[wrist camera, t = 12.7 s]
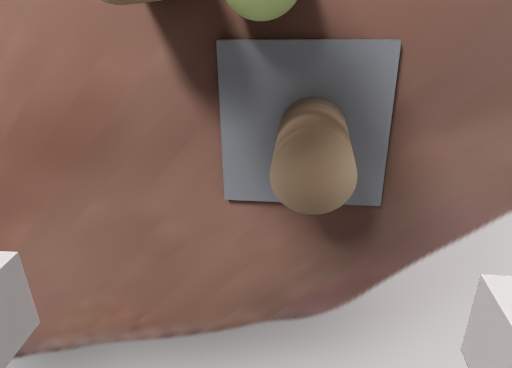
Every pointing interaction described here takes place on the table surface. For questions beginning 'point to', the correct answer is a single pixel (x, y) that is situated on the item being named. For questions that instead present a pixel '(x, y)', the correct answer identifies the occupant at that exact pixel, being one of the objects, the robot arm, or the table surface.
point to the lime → (261, 8)
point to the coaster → (297, 88)
